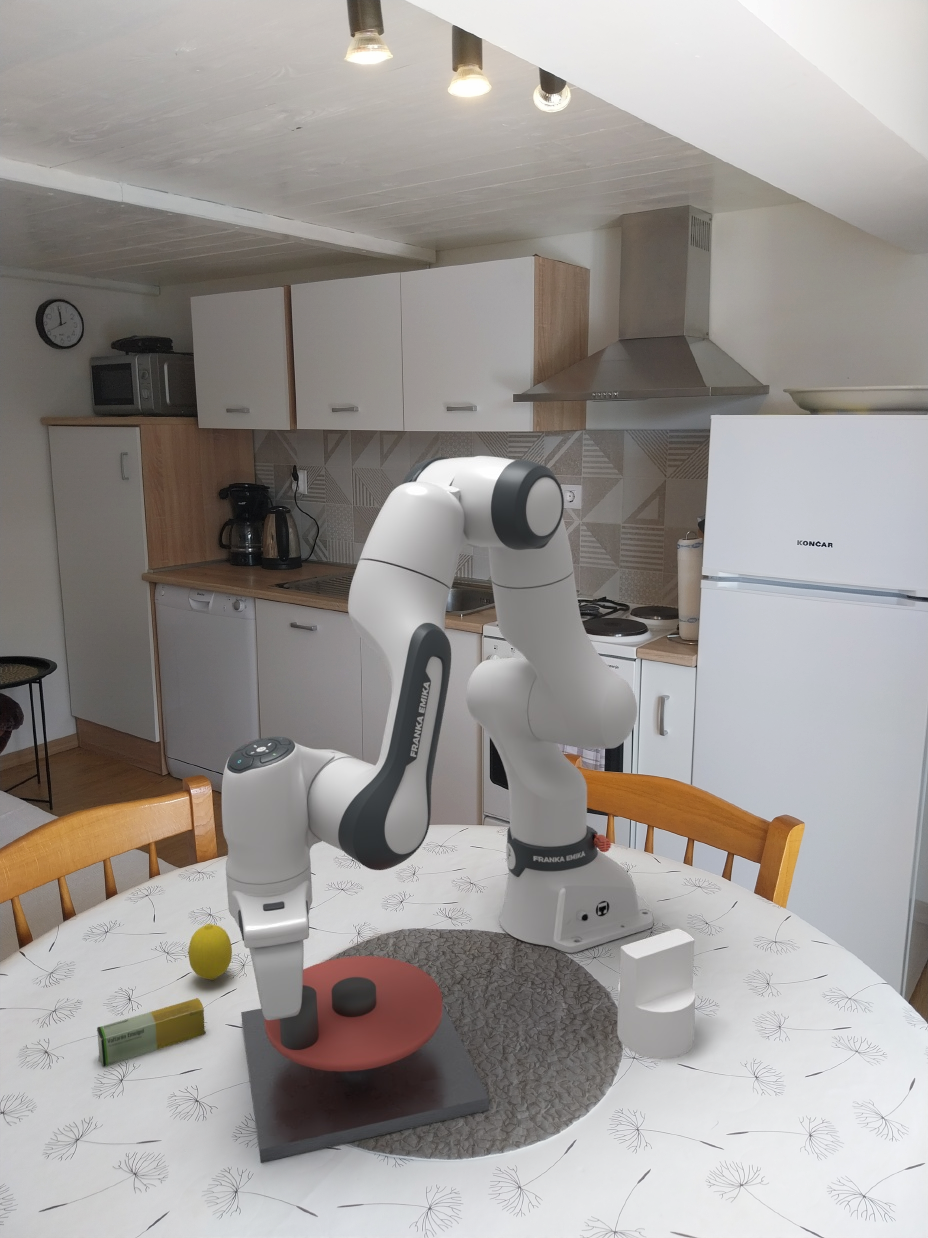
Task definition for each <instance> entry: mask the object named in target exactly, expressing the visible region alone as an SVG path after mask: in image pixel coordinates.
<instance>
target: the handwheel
mask: <svg viewBox="0 0 928 1238" xmlns="http://www.w3.org/2000/svg"><path fill="white" fill-rule="evenodd" d="M442 1003H443V995H442V991H441V989H440V987H439V985H438V983H437V982H436V981H435V979H433V977H431V976H430V974H428V973H427V972H426V971H424V970H423V969H421V968H420V967H418V966H416V965H414V964H411V963H409V962H405V961H402V960H399V959H394V958H391V957H385V956H373V955H360V956H359V955H358V956H357V955H356V956H348V957H347V956H345V957H339V958H334V959H330V960H324V961H323V962H319V963H316V964H313V965H311V966H308V967H306V968H303V988H302V1003H301V1009H300V1012H299V1013H298V1015H296V1016H292V1017H287V1018H282V1019H275V1020H266V1019H265V1030H266V1034H267V1037H268V1040H269V1041H270V1043H271V1044H272V1046H273V1047H274V1048H275V1049H276V1050H277V1051H278V1052H279V1053H280V1054H282V1055H283V1056H284V1057H286V1058H288V1059H290V1060H291V1061H293V1062H295V1063H298V1064H301V1065H303V1066H307V1067H310V1068H314V1069H320V1070H326V1071H357V1070H366V1069H371V1068H376V1067H380V1066H383V1065H387V1064H390V1063H392V1062H395V1061H398V1060H400V1059H402V1058H404V1057H406V1056H408V1055H410V1054H412V1053H413V1052H415V1051H416V1050H418V1049H420V1048H421V1047H422V1046H423V1045H424V1044H426V1043H427V1042H428V1041H429V1040H430V1039H431V1037H432V1036H433V1035H434V1034H435V1032H436V1031H437V1029H438V1027H439V1025H440V1023H441V1019H442V1015H443V1005H444V1004H443V1005H442ZM264 1018H265V1017H264Z"/></svg>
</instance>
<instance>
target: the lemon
mask: <svg viewBox="0 0 928 1238" xmlns="http://www.w3.org/2000/svg"><path fill="white" fill-rule="evenodd" d="M232 957H233V948H232V942H231V939H230V937H229V935H228V932H227V931H226V929H224V928H222V927H221V926H220V925H217V924H211V923H206V924H205V925H204V926H203V925H202V926H201V927H199V928H198V929H197V930H196V931H195V932H194V933H193V935H192V936H191V938H190V942H189V945H188V961H189V965H190V967H191V969H192V971H193V972H194V974H195V975H197V976H199V977H200V978H202V979H205V980H206V979H207V980H210V981H214V980H215V979H216V978H218V977H220V976H221V975H223V974H224V973H225V972H226V971H227V970H228V968H229V966H230V964H231V961H232V959H233V958H232Z"/></svg>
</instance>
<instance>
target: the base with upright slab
mask: <svg viewBox="0 0 928 1238" xmlns="http://www.w3.org/2000/svg"><path fill="white" fill-rule="evenodd" d="M694 954H695V939H694V938H693V937H692V936H691V935H690V934H689V933H688V932H686V931H684V930H682V929H680V928H675V929H672V930H668V931H665V932H662V933H660V934H656V935H653V936H650V937H649V936H648V937H646V938H644V939H643V938H642V939H641V940H636V941H634V942H630V943H628V944H624V945H622V946H620V959H619V961H620V964H619V965H620V968H619V971H620V972H619V982H618V984H617V985H618V987H617V989H618V990H617V1029H616V1030H617V1032H616V1033H617V1035H616V1036H618V1040H619V1041H620V1043H621V1044H622V1045H623V1046H624V1047H625V1048H627V1049H628V1050H629V1051H631V1052H632V1053H634V1054H637V1055H638V1056H642V1057H643V1058H648V1059H654V1060H656V1059H657V1060H665V1059H666V1060H667V1059H669V1060H670V1059H674V1058H679V1057H681V1056H683V1055H684V1054H686V1053H688V1052H689V1051H690V1050H691V1048H693V1045H694V1043H695V1019H696V1018H695V1017H696V1016H695V1015H696V990H695V988H694V986H693V984H694V960H695V959H694V957H695V955H694Z"/></svg>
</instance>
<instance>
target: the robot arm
mask: <svg viewBox="0 0 928 1238" xmlns="http://www.w3.org/2000/svg"><path fill="white" fill-rule="evenodd" d="M564 500H565V497H564V493H563V489H562V486H561V484H560V482H559V480H558V479H557V477H556V475H555V474H554V472H553V471H552V469H550V468H549V467H547V466H546V465H543V464H541V463H539V462H536V461H533V460H529V459H523V458H522V459H516V460H515V459H511V458H505V457H499V456H489V455H477V456H466V457H465V456H463V457H460V456H459V457H454V458H452V457H451V458H449V457H447V456H446V457H445V456H439V457H433V458H428V459H425V460H423V461H421V462H419V463H417V464H415V465H414V466H413V467H412V468H411V469H410V470H409V472H407V474H406V476H404V479H403V480H402V483H401V484H400V485H398V486H396V487H395V488H394V489H393V490H392V491H391V492H390V494H389V495H388V496H387V499H385V502H384V504H383V505H382V507H381V508H380V511H379V513H378V515H377V517H376V518H375V521H374V523H373V525H372V527H371V529H370V531H369V534H368V536H367V539H366V541H365V543H364V545H363V548H362V552H361V554H360V557H359V559H358V561H357V566H356V567H355V568H356V569H355V570H354V574H353V577H352V580H351V582H350V583H351V584H350V588H349V592H348V593H349V594H348V602H347V612H348V616H349V619H350V621H351V624H352V626H353V628H354V630H355V631H356V633H357V634H358V636H359V637H360V638H361V640H362V641H363V643H365V644H366V646H368V647H369V648H370V649H371V650H372V651H373V652H374V653H375V655H377V656H378V657H379V659H381V660H382V663H383V664H384V666H385V667H386V669H387V672H388V674H389V679H390V683H391V697H390V703H389V707H388V711H387V717H386V722H385V723H386V724H385V726H384V727H385V728H384V731H383V737H382V743H381V747H380V753H379V757H378V760H377V762H376V764H372V763H369V762H367V761H364V760H362V759H361V758H358V757H356V756H353V755H350V754H348V753H345V752H341V751H339V750H335V749H328V748H318V749H317V748H316V749H315V748H311V747H307V746H304V745H301V744H299V743H296V742H295V741H294V740H293V739H290V738H288V737H284V736H268V737H263V738H256V739H253V740H251V741H248V742H246V743H244V744H242V745H241V746H240V747H238V748H236V749H235V750H234V751H233V752H232V753H231V754H230V755H229V757H228V758H227V760H226V764H225V767H224V770H223V775H222V781H221V820H222V821H221V822H222V823H221V824H222V831H223V832H222V833H223V837H224V839H225V841H226V843H227V849H228V850H227V858H226V862H225V876H226V877H225V879H226V892H227V907H228V912H229V915H230V916H231V917H232V918H233V919H234V921H235V923H236V925H237V926H238V928H239V931H240V935H241V937H242V938H241V939H242V942H243V945H244V947H245V949H249V953H250V957H251V962H252V967H253V971H254V973H253V974H254V977H255V983H256V988H257V989H256V990H257V992H258V993H257V994H258V998H259V1003H260V1009H262V1012H263V1015H264V1017H265V1019H266V1020H275V1019H282V1018H287V1017H292V1016H296V1015H298V1013H299V1012H300V1009H301V1003H302V988H303V970H304V957H305V955H304V954H305V953H304V952H305V949H304V948H305V945H304V940H308V939H309V937H310V921H309V920H310V919H309V918H310V917H309V914H310V911H311V906H312V903H313V886H312V885H313V884H312V883H313V882H312V868H311V867H312V866H311V865H312V864H311V863H312V862H311V849H312V847H313V846H315V845H317V844H319V843H322V842H324V843H326V844H328V845H330V846H332V847H334V848H336V849H338V850H340V851H342V852H344V853H345V854H346V855H347V856H348V857H350V858H351V859H353V860H355V861H356V862H358V863H359V864H361V865H362V866H364V867H365V868H367V869H369V870H373V871H384V870H388V869H389V870H390V869H391V868H394V867H397V866H399V865H400V864H402V863H404V862H405V861H407V860H408V859H410V858H411V857H412V856H413V855H414V854H415V853H416V852H417V851H418V850H419V849H420V847H422V845H423V843H424V841H425V840H426V838H427V835H428V833H429V828H430V825H431V819H432V818H431V817H432V816H431V815H432V782H433V773H434V768H435V763H436V758H437V751H438V745H439V740H440V736H441V735H440V734H441V728H442V723H443V717H444V711H445V706H446V703H447V702H446V701H447V694H448V690H449V681H450V677H451V676H450V675H451V669H452V668H451V666H452V648H451V642H450V639H449V637H448V636H447V634H446V626H445V625H446V624H445V623H446V611H447V605H448V600H449V596H450V592H451V590H452V587H453V583H454V580H455V576H456V572H457V568H458V563H459V560H460V554H461V551H462V550H463V548H464V547H470V548H480V547H484V548H488V558H489V570H490V572H489V573H490V579H491V585H492V586H491V587H492V591H493V601H494V606H495V615H496V621H497V626H498V629H499V632H500V634H501V636H502V637H503V639H504V640H505V641H506V642H507V643H508V644H509V645H510V646H512V647H513V648H514V649H516V651H518V652H519V653H521V654H522V656H523V657H524V658H522V657H521V658H520V657H519V658H518V657H503V658H502V657H501V658H493V659H486V660H484V661H481V662H480V663H479V664H478V665H477V666H476V667H475V668H474V670H473V671H472V673H471V674H470V676H469V678H468V681H467V684H466V690H465V701H466V705H467V706H466V707H467V709H468V711H469V714H470V716H471V718H473V719H474V720H475V722H476V723H478V724H479V725H480V727H481V728H483V729H484V731H485V732H486V734H487V735H488V737H489V738H490V740H491V741H492V743H493V745H494V747H495V749H496V750H497V752H498V755H499V757H500V759H501V762H502V766H503V768H504V772H505V776H506V780H507V785H508V801H509V826H508V828H507V832H506V833H507V834H506V835H507V836H506V845H505V847H506V848H505V849H506V850H505V853H506V855H505V856H506V864H507V868H508V876H507V884H506V890H505V895H504V900H503V904H502V907H501V911H500V914H499V917H498V920H499V924H500V926H501V928H502V929H503V930H504V931H505V932H506V933H507V934H509V935H510V936H512V937H514V938H515V939H518V940H521V941H523V942H526V943H529V944H534V945H540V946H546V947H551V948H554V949H556V950H558V951H562V952H565V953H567V954H568V953H569V954H572V953H577V952H580V951H583V950H586V949H589V948H592V947H595V946H599V945H603V944H605V943H608V942H611V941H614V940H617V939H620V938H624V937H627V936H630V935H634V934H635V933H640V932H643V931H646V930H649V929H650V928H652V927H653V924H654V918H653V917H654V916H653V912H652V910H651V908H650V906H649V905H648V904H647V903H646V901H644V899H643V898H642V897H641V896H640V895H639V894H637V889H636V886H635V883H634V881H633V879H632V878H631V875H630V874H629V873H628V871H627V870H625V869H624V867H622V865H620V864H619V863H618V862H617V861H616V860H614V859H612V858H611V857H609V856H608V855H606V854H605V853H606V852H609V851H610V849H611V848H612V841H611V840H610V839H608V838H607V837H606V836H605V835H604V834H599V833H598V831H597V830H596V829H594V828H593V827H591V826H589V825H588V824H587V822H588V821H587V817H588V816H587V815H588V813H587V812H588V786H587V781H586V779H585V776H584V775H583V773H582V772H581V770H579V768H578V767H577V766H575V765H574V764H573V763H572V762H571V761H570V760H569V759H568V758H567V757H566V755H565V754H564V753H563V752H562V750H561V748H560V747H559V745H563V746H568V747H571V748H572V747H573V748H577V749H580V750H581V749H583V750H586V749H587V750H589V749H590V750H591V749H592V750H594V749H595V750H600V749H615V748H617V747H619V746H620V745H622V744H623V743H624V742H625V741H626V740H627V739H628V737H629V736H630V734H631V732H632V731H633V730H634V727H635V724H636V721H637V716H638V715H637V714H638V704H637V699H636V696H635V694H634V691H633V689H632V687H631V686H630V684H629V683H628V682H627V681H626V680H625V679H624V678H623V677H621V676H620V675H618V674H617V673H616V672H615V671H614V670H612V668H611V667H610V666H609V665H608V664H607V663H606V662H605V660H604V659H603V658H602V657H601V655H600V654H599V653H598V651H597V650H596V648H595V646H594V645H593V643H592V641H591V639H590V638H589V635H588V633H587V631H586V629H585V626H584V623H583V620H582V617H581V612H580V606H579V601H578V594H577V593H578V592H577V586H576V578H575V570H574V562H573V555H572V549H571V545H570V540H569V534H568V532H567V527H566V525H565V520H564V517H563V516H564V507H565V501H564Z"/></svg>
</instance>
